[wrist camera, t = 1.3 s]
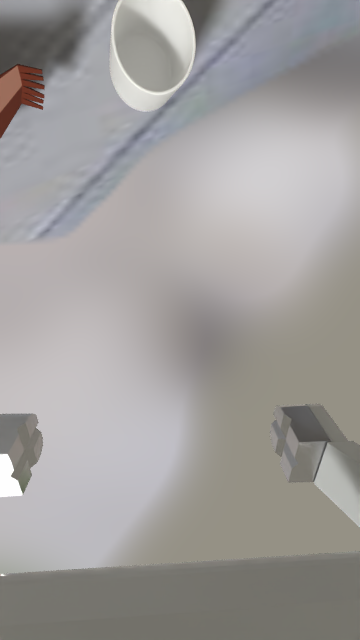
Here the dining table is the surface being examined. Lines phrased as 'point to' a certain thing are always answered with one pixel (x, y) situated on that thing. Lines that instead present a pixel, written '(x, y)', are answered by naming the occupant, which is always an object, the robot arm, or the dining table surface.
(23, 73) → the decorative bird
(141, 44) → the cup
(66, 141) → the dining table surface
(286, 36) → the dining table surface
